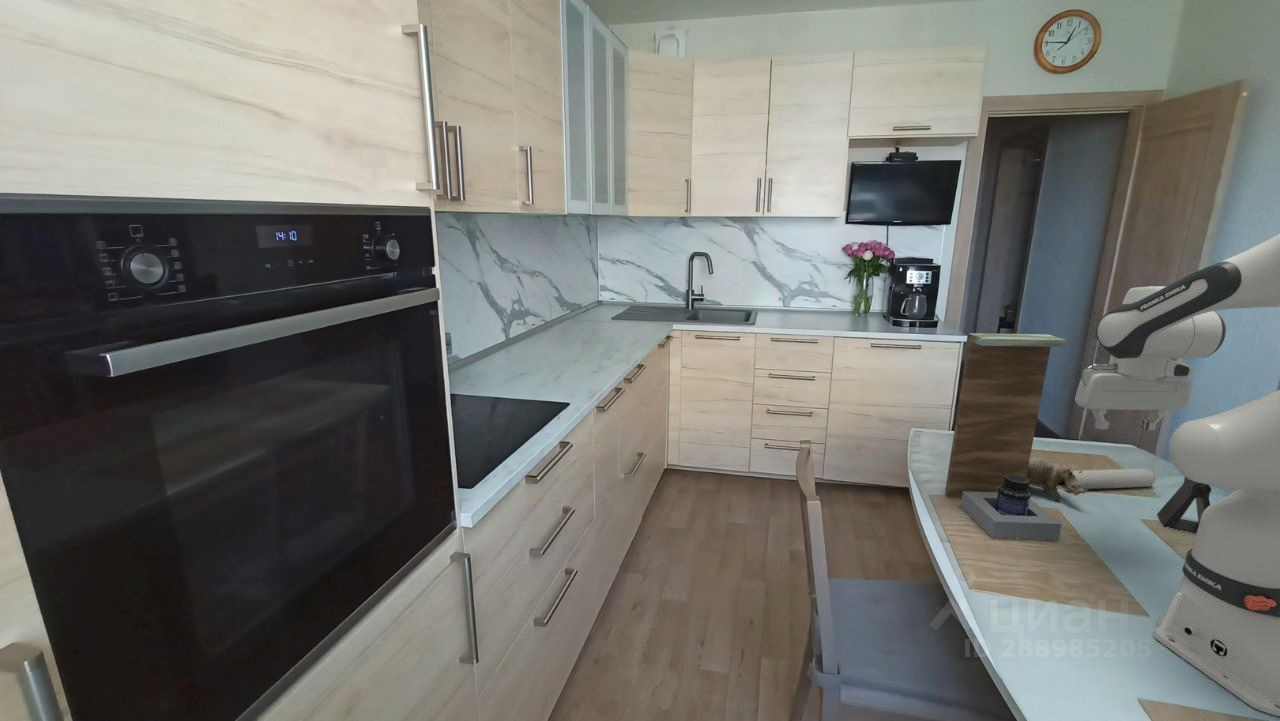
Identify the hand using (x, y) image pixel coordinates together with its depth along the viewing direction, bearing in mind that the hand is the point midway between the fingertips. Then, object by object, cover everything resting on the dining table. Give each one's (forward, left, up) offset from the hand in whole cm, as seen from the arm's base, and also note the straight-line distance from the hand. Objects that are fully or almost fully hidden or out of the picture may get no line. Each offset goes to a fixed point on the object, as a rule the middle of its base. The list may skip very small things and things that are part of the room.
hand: (1124, 429), depth 117 cm
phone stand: (+6, -23, -26) cm, 35 cm away
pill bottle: (+5, +16, -26) cm, 31 cm away
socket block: (+5, +17, -25) cm, 31 cm away
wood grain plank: (+15, +16, -25) cm, 34 cm away
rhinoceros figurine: (+20, 0, -26) cm, 32 cm away
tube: (+26, -19, -26) cm, 41 cm away
